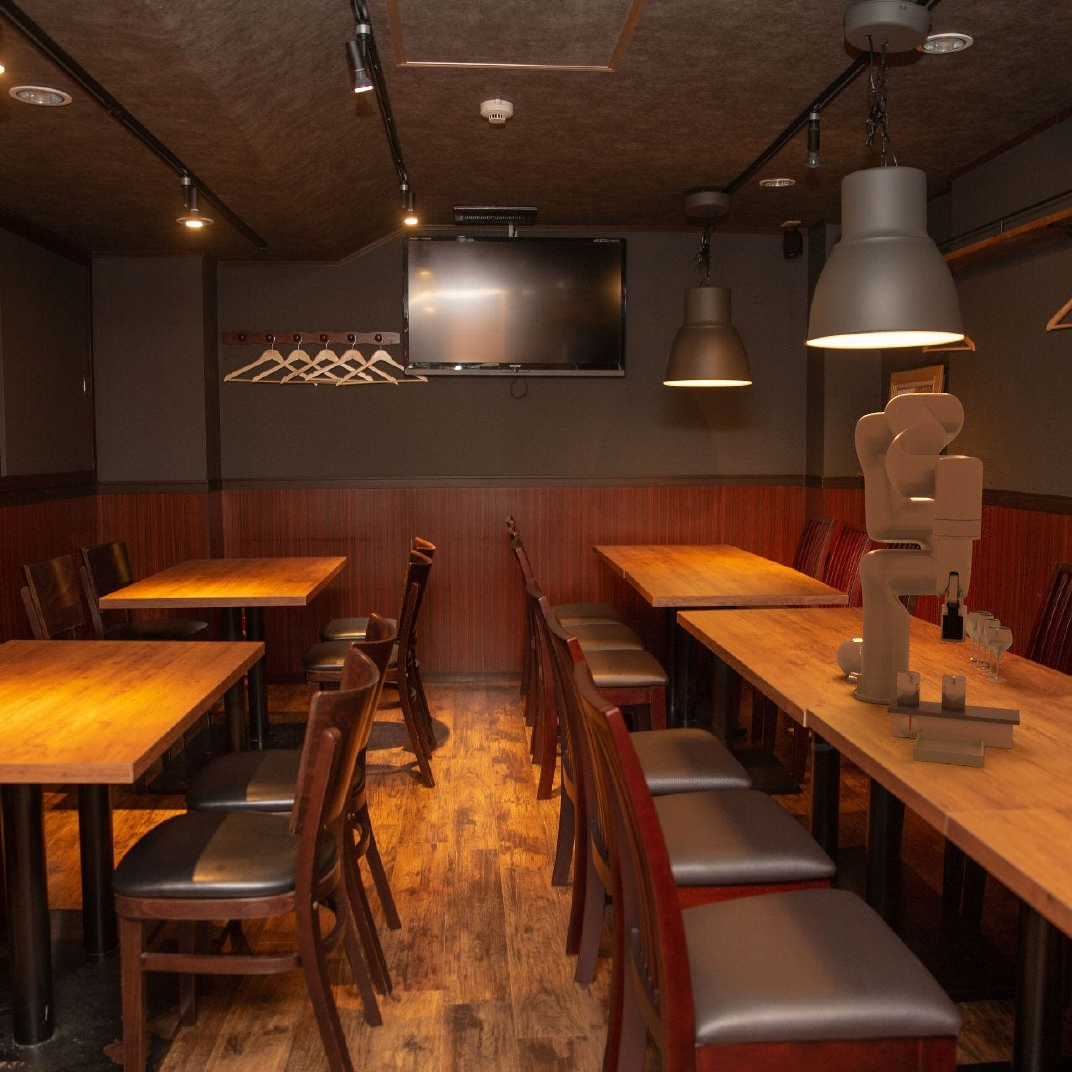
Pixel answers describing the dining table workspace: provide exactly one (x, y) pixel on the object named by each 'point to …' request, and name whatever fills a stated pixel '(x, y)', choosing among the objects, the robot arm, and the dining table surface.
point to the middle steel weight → (953, 692)
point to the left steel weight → (908, 688)
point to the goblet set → (988, 637)
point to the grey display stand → (956, 722)
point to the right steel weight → (964, 614)
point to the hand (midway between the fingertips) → (953, 635)
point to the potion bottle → (850, 655)
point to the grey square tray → (949, 749)
